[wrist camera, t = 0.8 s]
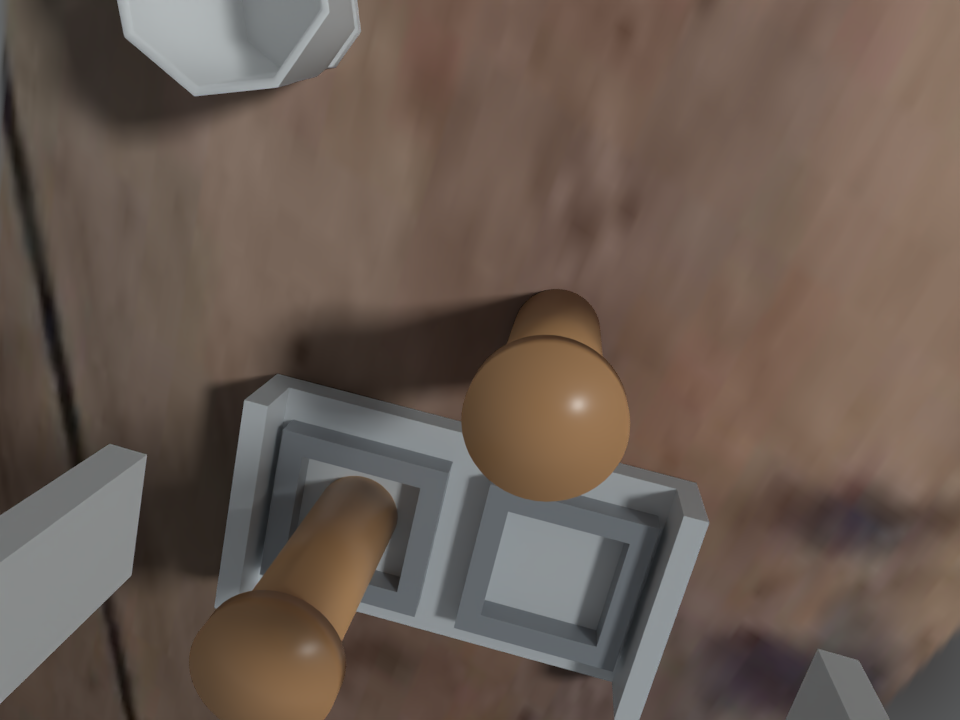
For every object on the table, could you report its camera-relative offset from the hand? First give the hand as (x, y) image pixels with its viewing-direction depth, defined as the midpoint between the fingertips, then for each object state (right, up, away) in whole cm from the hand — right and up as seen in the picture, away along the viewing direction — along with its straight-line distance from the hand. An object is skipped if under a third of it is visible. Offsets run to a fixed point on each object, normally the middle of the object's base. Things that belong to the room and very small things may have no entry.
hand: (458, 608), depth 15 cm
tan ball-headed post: (+4, +6, +18) cm, 19 cm away
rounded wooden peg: (-5, -2, +20) cm, 21 cm away
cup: (-8, +19, +16) cm, 26 cm away
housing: (-1, -3, +21) cm, 21 cm away
